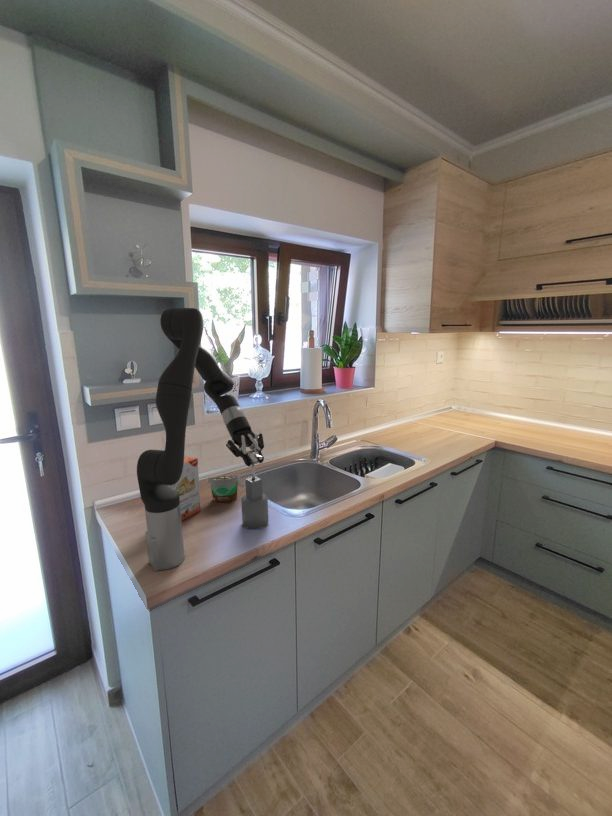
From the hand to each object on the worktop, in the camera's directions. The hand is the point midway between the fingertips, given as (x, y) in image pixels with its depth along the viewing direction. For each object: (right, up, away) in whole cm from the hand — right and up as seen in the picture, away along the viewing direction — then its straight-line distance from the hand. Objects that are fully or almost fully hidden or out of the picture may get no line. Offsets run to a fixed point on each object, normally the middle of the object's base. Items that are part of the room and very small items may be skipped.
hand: (255, 463), depth 121 cm
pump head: (0, -9, +2) cm, 9 cm away
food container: (-15, -19, +22) cm, 33 cm away
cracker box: (-28, -21, +10) cm, 37 cm away
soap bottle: (-1, -22, +6) cm, 22 cm away
